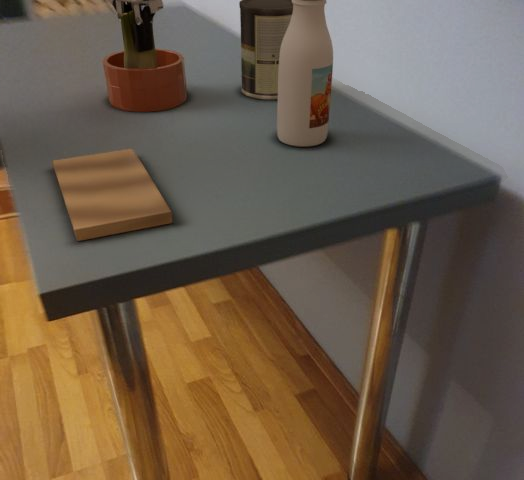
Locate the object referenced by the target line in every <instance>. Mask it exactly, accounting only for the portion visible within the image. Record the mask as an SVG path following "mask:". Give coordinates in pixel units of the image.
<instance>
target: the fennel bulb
mask: <svg viewBox="0 0 524 480" xmlns="http://www.w3.org/2000/svg"><path fill="white" fill-rule="evenodd" d="M129 18H130V19H129ZM120 19H121V21H120V24H122V26H121V31H122V30H123V34H122V37H123V36H124V42H123V47H124V48H123V51H124V68H128V69H147V68H157V67H158V65H157V56H156V50H155V49H156V44H155V43H156V42H155V36H154V25H153V23H154V21H153V22H152V23H151V31H152V41H153V49H152V50H148V51H144V52H138V51H137V50H136V42H135V33H134V24H137V23H136V19H135V12H134V11H130V12H129V14H128V13H123V14H120Z"/></svg>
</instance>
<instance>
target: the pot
mask: <svg viewBox="0 0 524 480" xmlns="http://www.w3.org/2000/svg"><path fill="white" fill-rule="evenodd" d="M155 50H156V56H157V65H158V67H157V68H147V69H128V68H124V50H120V51H116V52H112V53H109V54H108V55H106V56H104V58H103V59H102V67H103V73H104V78H105V83H106V90H107V95H108V101H109V103H110V105H111V106H113V107H114V108H116V109H119V110H122V111H126V112H127V111H128V112H135V113H137V112H139V113H148V112H149V113H150V112H160V111H165V110H169V109H173V108H176V107H179V106H180V105H182V104H184V103H186V101H187V98H188V87H187V77H186V65H185V57H184V56H183V54H181V53H180V52H178V51H174V50H171V49H170V50H169V49H164V48H155Z"/></svg>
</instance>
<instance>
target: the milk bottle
mask: <svg viewBox="0 0 524 480" xmlns="http://www.w3.org/2000/svg"><path fill="white" fill-rule="evenodd" d="M292 3H293V13H292V17H291V20H290V23H289V26H288V28H287V31H286V33H285V35H284V38H283V41H282V44H281V48H280V55H279V70H278V99H277V104H276V105H277V106H276V107H277V108H276V136H277V138H278V140H279V142H282V143H283V144H286V145H288V146H293V147H314V146H318V145H320V144H323V143H324V142H325V141H326V140H327V137H328V133H329V132H328V131H329V120H330V108H331V98H332V84H333V83H332V82H333V69H334V49H333V48H334V47H333V42H332V38H331V34H330V32H329V29H328V25H327V20H326V14H325V6H326V4H327V3H328V2H327V0H292Z"/></svg>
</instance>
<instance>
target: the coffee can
mask: <svg viewBox="0 0 524 480" xmlns="http://www.w3.org/2000/svg"><path fill="white" fill-rule="evenodd" d="M238 5H239V15H240V17H239V19H240V21H239V22H240V62H241V63H240V64H241V65H240V67H241V69H240V70H241V88H240V89H241V93H242V94H243V95H244V96H246V97H248V98H252V99H257V100H266V101H267V100H268V101H269V100H271V101H273V100H278V70H279V55H280V48H281V44H282V41H283V38H284V35H285V33H286V31H287V28H288V26H289V23H290V20H291V17H292V13H293V3H292V0H240V1H239V3H238Z"/></svg>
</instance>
